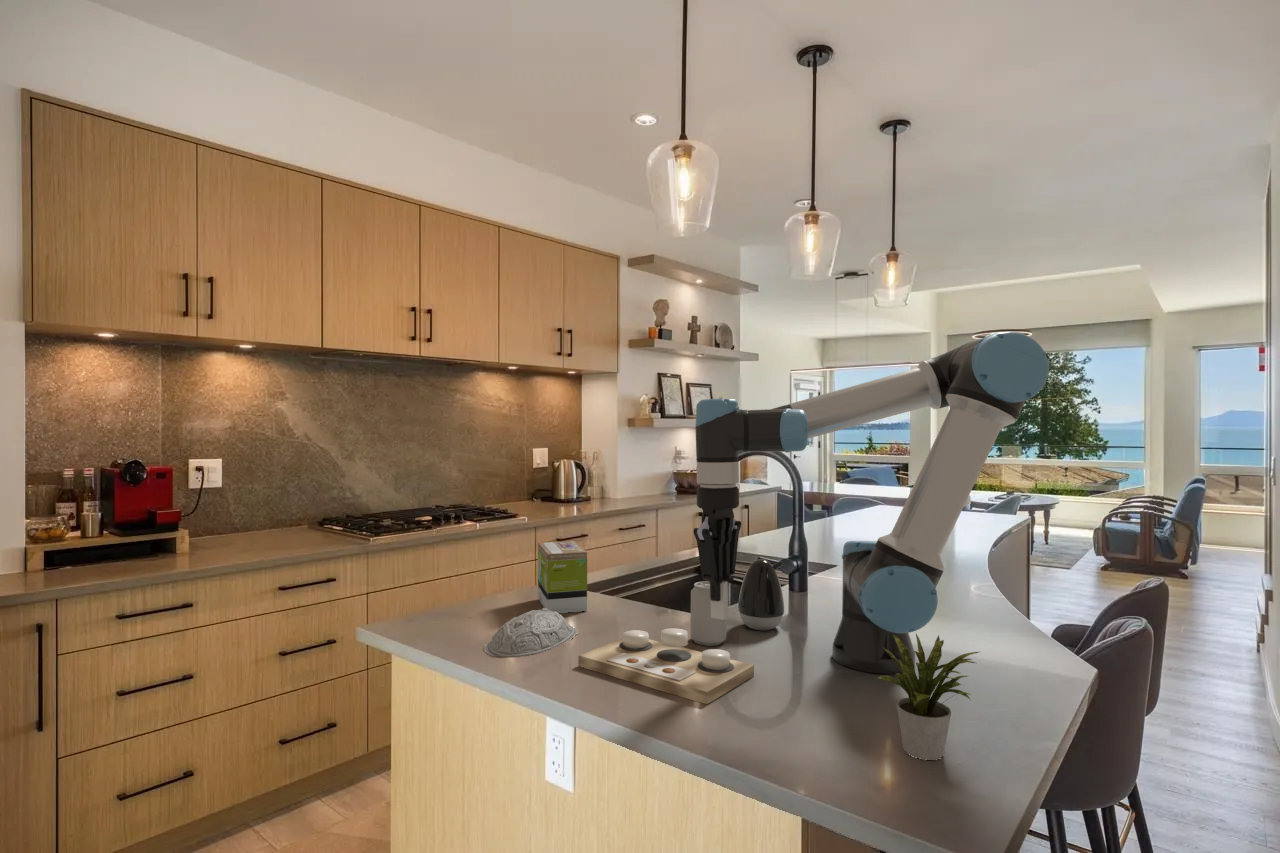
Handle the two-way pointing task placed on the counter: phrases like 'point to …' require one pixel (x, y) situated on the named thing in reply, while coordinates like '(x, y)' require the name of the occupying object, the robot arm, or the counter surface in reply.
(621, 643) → the button board
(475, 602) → the counter surface
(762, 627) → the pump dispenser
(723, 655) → the button
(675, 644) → the button
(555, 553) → the tea box
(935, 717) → the house plant
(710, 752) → the counter surface
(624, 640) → the button
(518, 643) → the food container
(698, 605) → the can
